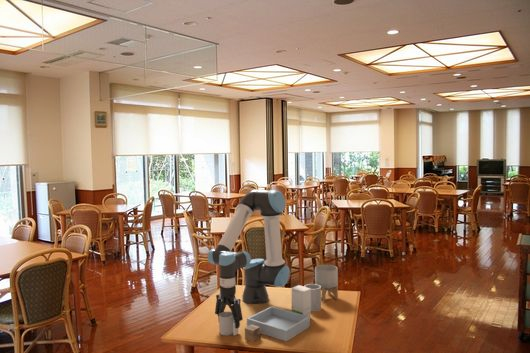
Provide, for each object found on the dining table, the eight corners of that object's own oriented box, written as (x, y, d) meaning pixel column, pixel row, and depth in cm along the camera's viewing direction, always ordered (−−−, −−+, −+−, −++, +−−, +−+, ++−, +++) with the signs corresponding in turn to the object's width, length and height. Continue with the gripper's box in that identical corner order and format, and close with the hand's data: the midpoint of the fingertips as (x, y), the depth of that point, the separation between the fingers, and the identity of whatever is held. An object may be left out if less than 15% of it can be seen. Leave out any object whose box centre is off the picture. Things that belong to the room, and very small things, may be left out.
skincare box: (291, 317, 223) (290, 287, 222) (299, 313, 228) (298, 284, 227) (303, 321, 217) (303, 291, 216) (311, 317, 222) (311, 287, 221)
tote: (271, 315, 225) (271, 306, 225) (309, 326, 211) (309, 316, 210) (247, 328, 210) (246, 318, 210) (286, 341, 195) (286, 330, 195)
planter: (334, 303, 241) (334, 272, 240) (312, 300, 247) (311, 269, 245) (340, 295, 253) (340, 265, 252) (319, 292, 258) (319, 263, 257)
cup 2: (319, 312, 229) (319, 290, 228) (302, 310, 232) (302, 288, 231) (322, 306, 237) (322, 284, 236) (306, 304, 240) (306, 283, 239)
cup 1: (220, 329, 210) (220, 311, 209) (241, 329, 209) (240, 311, 209) (218, 335, 203) (217, 317, 202) (239, 335, 202) (238, 317, 202)
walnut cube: (251, 334, 203) (251, 324, 203) (260, 337, 200) (259, 327, 200) (245, 338, 200) (244, 328, 199) (253, 341, 196) (253, 330, 196)
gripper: (206, 283, 208) (207, 328, 210) (239, 292, 195) (240, 340, 197) (217, 279, 214) (218, 323, 216) (249, 287, 201) (250, 334, 203)
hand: (228, 331), depth 206 cm, fingers closed on cup 1, 8 cm apart
